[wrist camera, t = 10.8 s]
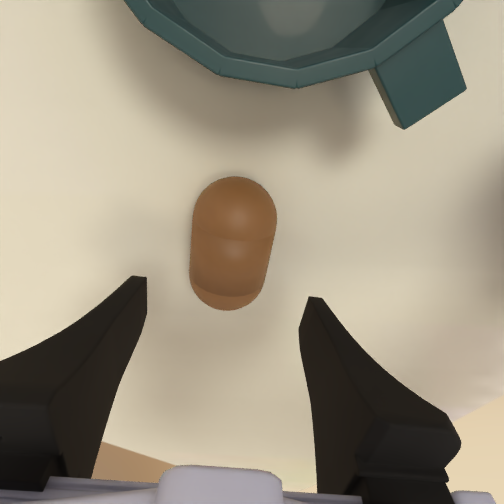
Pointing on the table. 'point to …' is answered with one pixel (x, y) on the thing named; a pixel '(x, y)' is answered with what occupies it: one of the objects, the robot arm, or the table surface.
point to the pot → (320, 44)
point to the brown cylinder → (231, 242)
